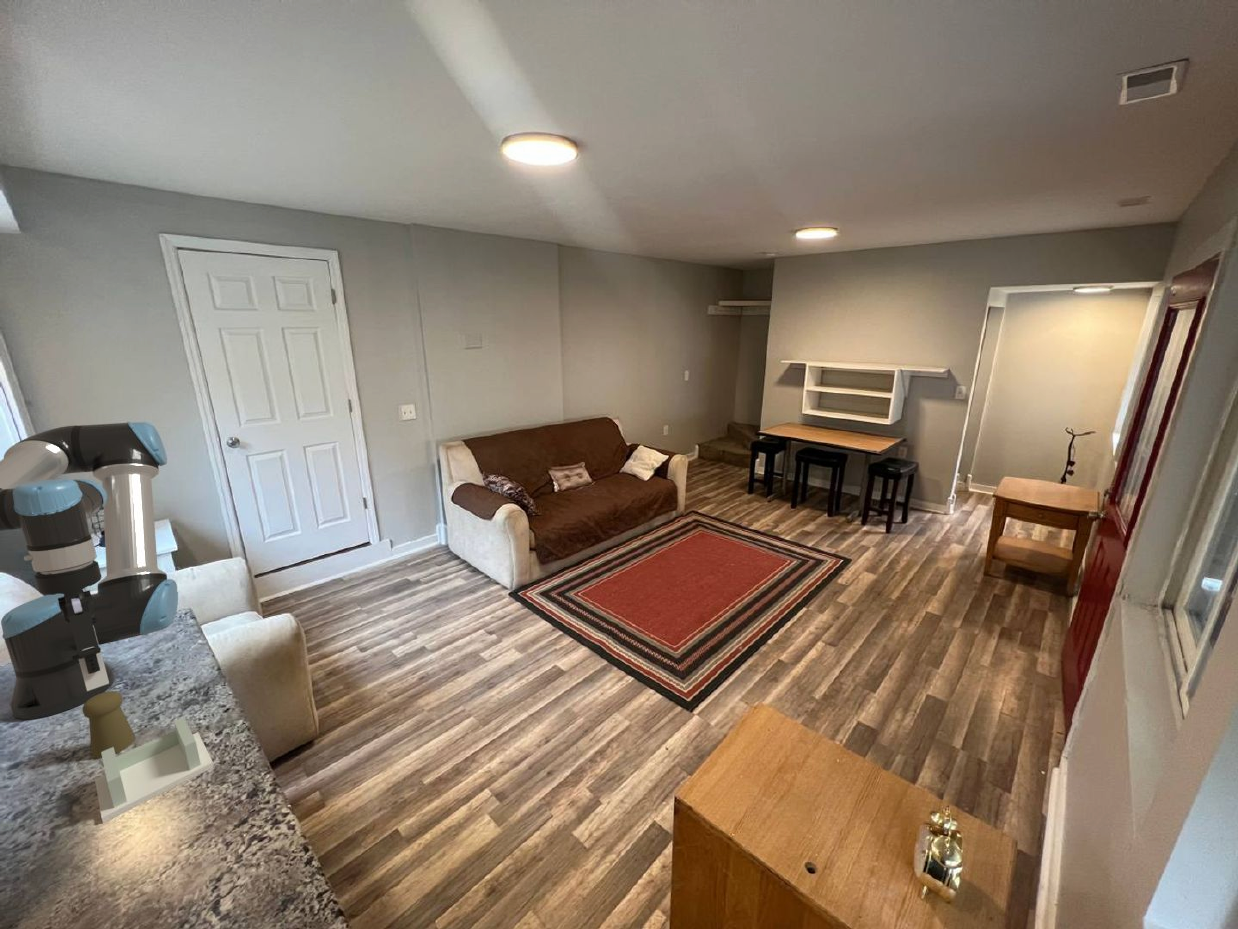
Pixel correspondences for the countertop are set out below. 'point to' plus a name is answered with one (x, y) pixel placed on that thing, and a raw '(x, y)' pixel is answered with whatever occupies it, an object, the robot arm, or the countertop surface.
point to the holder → (150, 770)
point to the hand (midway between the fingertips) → (94, 672)
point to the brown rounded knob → (107, 723)
